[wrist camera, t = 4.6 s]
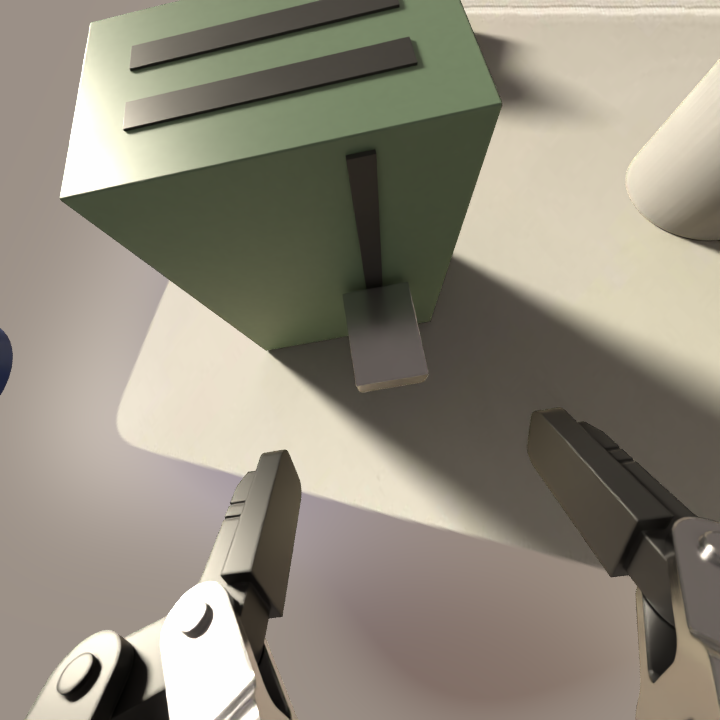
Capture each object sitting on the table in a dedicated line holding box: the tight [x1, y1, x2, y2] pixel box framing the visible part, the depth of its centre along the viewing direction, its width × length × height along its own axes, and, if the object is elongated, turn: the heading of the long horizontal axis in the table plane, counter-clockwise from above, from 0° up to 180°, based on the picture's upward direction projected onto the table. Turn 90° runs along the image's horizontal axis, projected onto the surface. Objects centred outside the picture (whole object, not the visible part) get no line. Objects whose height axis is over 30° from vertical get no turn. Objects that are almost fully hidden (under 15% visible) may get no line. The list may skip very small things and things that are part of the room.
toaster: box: [60, 0, 502, 351], centre depth 17 cm, size 13×9×15 cm, turn 99°
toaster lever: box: [342, 282, 429, 393], centre depth 15 cm, size 4×5×2 cm
